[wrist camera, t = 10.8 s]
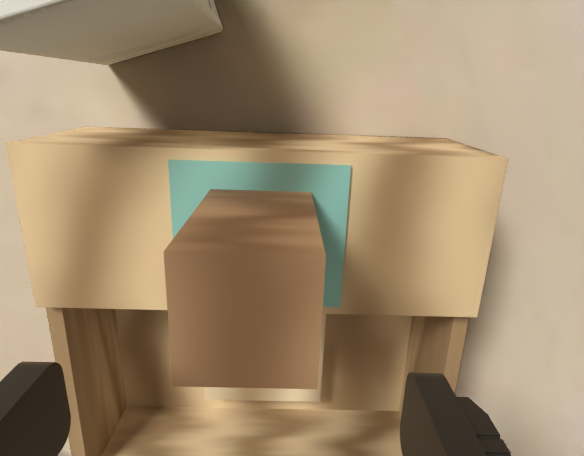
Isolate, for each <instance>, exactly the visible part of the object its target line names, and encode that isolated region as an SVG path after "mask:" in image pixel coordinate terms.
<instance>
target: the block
mask: <svg viewBox="0 0 584 456" xmlns="http://www.w3.org/2000/svg"><path fill="white" fill-rule="evenodd" d="M325 263H326V254H325V250H324V245H323V241H322V237H321V232H320V228H319V224H318V219H317V215H316V211H315V206H314V202H313V198H312V193H311V192H290V191H257V190H224V189H210V190H209V192H208V193H207V194H206V196H205V197H204V198H203V200H202V201H201V202H200V204H199V205H198V206H197V208H196V209H195V210H194V212H193V213H192V214H191V216H190V217H189V218H188V220H187V221H186V222H185V224H184V225H183V226H182V228H181V229H180V230H179V232H178V233H177V234H176V236H175V237H174V238H173V240H172V241H171V242H170V244H169V245H168V246H167V248H166V249H165V250H164V267H165V282H166V296H167V311H168V325H169V340H170V354H171V369H172V383H173V386H176V387H226V388H276V389H317V388H318V373H319V357H320V341H321V326H322V310H323V295H324V279H325Z"/></svg>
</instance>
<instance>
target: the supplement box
mask: <svg viewBox="0 0 584 456" xmlns="http://www.w3.org/2000/svg"><path fill="white" fill-rule="evenodd" d="M222 30H223V27H222V24H221V21H220V18H219V15H218V12H217V10H216V6H215V3H214V0H0V50H2V51H9V52H17V53H24V54H31V55H38V56H46V57H53V58H60V59H67V60H75V61H81V62H89V63H96V64H102V65H110V64H114V63H117V62H120V61H124V60H127V59H131V58H134V57H137V56H141V55H144V54H148V53H151V52H154V51H158V50H161V49H165V48H168V47H172V46H175V45H179V44H182V43H186V42H189V41H193V40H196V39H199V38H203V37H206V36H210V35H213V34H216V33H219V32H221V31H222Z"/></svg>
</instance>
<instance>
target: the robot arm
mask: <svg viewBox="0 0 584 456" xmlns="http://www.w3.org/2000/svg"><path fill="white" fill-rule="evenodd" d="M70 425H71V414H70V408H69V402H68V397H67V391H66V385H65V379H64V374H63V369H62V367H61V365H60V364H59V363H57V362H21V363H19V364H18V365H17V366H16V367H15V368H14V369H13V370H12V371H11V372H10V373H9V374H8V375H7V376H6V377H5V378H4V379H3V380H2V381H1V382H0V456H58V454H59V453H60V451H61V449H62V448H63V446H64V444H65V442H66V440H67V438H68V434H69V431H70ZM400 444H401V450H402V455H403V456H511V455H510V451H509V449H508V448H507V446H506V444H505V443H504V441H503V440H502V439H500V434H499V433H498V431H497V429H496V428H495V426H494V424H493V423H492V421H491V419H490V418H489V416H488V414H486V413H485V412H484V411H483V410H482V409H481V408H480V407H479V406H477V405H476V404H475V403H474V402H473V401H472V400H471V399H470V398H469V397H456V396H455V394H454V392H453V390H452V388H451V386H450V385H449V383H448V381H447V379H446V377H445V376H444V374H442V373H416V372H410V373H408V375H407V378H406V384H405V392H404V399H403V407H402V414H401V422H400Z"/></svg>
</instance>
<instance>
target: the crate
mask: <svg viewBox="0 0 584 456" xmlns="http://www.w3.org/2000/svg"><path fill="white" fill-rule="evenodd" d="M6 146H7V152H8V157H9V163H10V168H11V174H12V179H13V185H14V190H15V196H16V201H17V207H18V212H19V218H20V223H21V229H22V234H23V240H24V245H25V251H26V256H27V262H28V267H29V273H30V278H31V284H32V289H33V295H34V300H35V306H36V307H46V310H47V316H48V322H49V327H50V333H51V339H52V345H53V350H54V356H55V362H57V363H59V364H60V365H61V367H62V369H63V374H64V379H65V385H66V391H67V397H68V402H69V408H70V414H71V425H70V431H69V434H68V437H69V443H70V449H71V454H72V456H403V455H402V450H401V444H400V422H401V414H402V407H403V399H404V392H405V384H406V378H407V375H408V373H410V372H416V373H442V374H444V376H445V377H446V379H447V381H448V383H449V385H450V386H451V388H452V390H453V392H454V394H455V389H456V384H457V379H458V373H459V368H460V363H461V357H462V352H463V347H464V342H465V336H466V331H467V326H468V321H469V317H477V316H478V311H479V306H480V301H481V295H482V290H483V285H484V280H485V275H486V270H487V265H488V260H489V255H490V250H491V245H492V240H493V234H494V229H495V224H496V219H497V214H498V209H499V204H500V199H501V194H502V189H503V184H504V179H505V173H506V168H507V163H508V158H505V157H502V156H499V155H495V154H492V153H489V152H486V151H483V150H480V149H477V148H474V147H471V146H468V145H464V144H461V143H458V142H455V141H452V140H449V139H446V138H419V137H387V136H356V135H325V134H294V133H263V132H232V131H201V130H170V129H139V128H108V127H84V128H79V129H74V130H69V131H64V132H59V133H54V134H49V135H44V136H39V137H34V138H28V139H23V140H18V141H13V142H8V143H6ZM210 189H224V190H257V191H290V192H311V193H312V198H313V202H314V206H315V211H316V215H317V219H318V224H319V228H320V232H321V237H322V241H323V245H324V250H325V254H326V263H325V279H324V295H323V310H322V326H321V341H320V357H319V373H318V388H317V389H276V388H226V387H176V386H173V383H172V369H171V354H170V340H169V325H168V311H167V296H166V282H165V267H164V250H165V249H166V248H167V246H168V245H169V244H170V242H171V241H172V240H173V238H174V237H175V236H176V234H177V233H178V232H179V230H180V229H181V228H182V226H183V225H184V224H185V222H186V221H187V220H188V218H189V217H190V216H191V214H192V213H193V212H194V210H195V209H196V208H197V206H198V205H199V204H200V202H201V201H202V200H203V198H204V197H205V196H206V194H207V193H208V192H209V190H210Z"/></svg>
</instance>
